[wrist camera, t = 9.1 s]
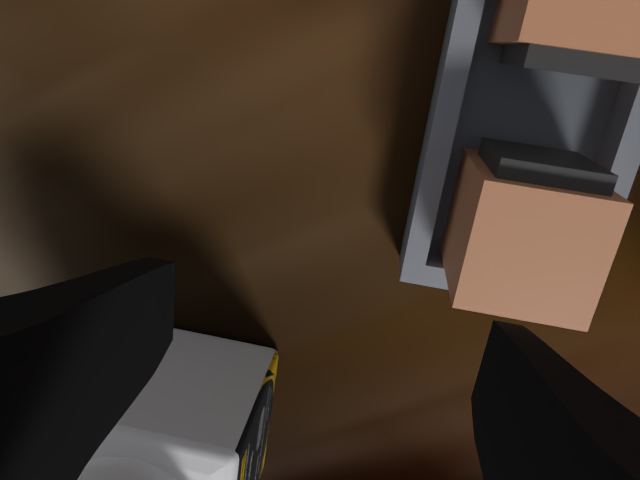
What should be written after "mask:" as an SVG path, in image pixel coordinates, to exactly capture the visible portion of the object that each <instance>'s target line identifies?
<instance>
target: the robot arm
mask: <svg viewBox="0 0 640 480" xmlns="http://www.w3.org/2000/svg"><path fill="white" fill-rule="evenodd" d="M175 273H176V262H172V261H167V260H161V259H156V258H144V259H139V260H135V261H131V262H128V263H124V264H121V265H117V266H114V267H111V268H108V269H104V270H101V271H98V272H95V273H91V274H88V275H85V276H82V277H78V278H75V279H71V280H68V281H64V282H60V283H57V284H53V285H49V286H46V287H42V288H38V289H34V290H31V291H26V292H22V293H18V294H13V295H8V296H3V297H0V480H78V478H79V476H80V475H81V473H82V471H83V470H84V468H85V466H86V465H87V463H88V462H89V461H90V459H91V458H92V456H93V455H94V453H95V452H96V450H97V449H98V448H99V446H100V445H101V444H102V442H103V441H104V440H105V438H106V437H107V436H108V434H109V433H110V432H111V431H112V429H113V428H114V427H115V425H116V424H117V423H118V421H119V420H120V419H121V417H122V416H123V415H124V413H125V412H126V411H127V410H128V408H129V407H130V406H131V404H132V403H133V402H134V400H135V399H136V398H137V396H138V395H139V394H140V392H141V391H142V390H143V388H144V387H145V386H146V384H147V383H148V382H149V380H150V379H151V377H152V376H153V375H154V373H155V372H156V370H157V368H158V366H159V365H160V363H161V361H162V359H163V357H164V355H165V354H166V352H167V350H168V348H169V346H170V344H171V342H172V340H173V326H174V299H175ZM471 402H472V417H473V428H474V438H475V443H476V448H477V452H478V457H479V461H480V466H481V470H482V475H483V479H484V480H640V417H638V416H637V415H636V414H634V413H633V412H631V411H630V410H628V409H627V408H626V407H624V406H623V405H622V404H620V403H619V402H618V401H616V400H615V399H614V398H612V397H611V396H610V395H608V394H607V393H605V392H604V391H603V390H601V389H600V388H599V387H598V386H596V385H595V384H594V383H593V382H591V381H590V380H589V379H588V378H586V377H585V376H584V375H583V374H581V373H580V372H579V371H578V370H577V369H575V368H574V367H573V366H572V365H571V364H569V363H568V362H567V361H566V360H565V359H563V358H562V357H561V356H560V355H559V354H558V353H556V352H555V351H554V350H553V349H552V348H551V347H549V346H548V345H547V344H546V343H545V342H543V341H542V340H541V339H540V338H539V337H537V336H536V335H535V334H534V333H532V332H531V331H530V330H528V329H527V328H525V327H524V326H522V325H516V324H511V323H505V322H500V321H495V320H493V324H492V327H491V331H490V334H489V338H488V341H487V345H486V348H485V351H484V355H483V358H482V362H481V365H480V369H479V372H478V376H477V379H476V383H475V386H474V390H473V393H472V397H471Z"/></svg>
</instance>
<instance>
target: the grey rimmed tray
mask: <svg viewBox="0 0 640 480" xmlns="http://www.w3.org/2000/svg"><path fill="white" fill-rule="evenodd" d="M496 2H497V0H452V2H451V7H450V12H449V16H448V21H447V26H446V31H445V36H444V41H443V46H442V51H441V56H440V61H439V65H438V70H437V75H436V80H435V85H434V90H433V95H432V100H431V105H430V110H429V114H428V119H427V124H426V129H425V134H424V139H423V144H422V149H421V154H420V159H419V164H418V168H417V173H416V178H415V183H414V188H413V193H412V198H411V203H410V208H409V213H408V217H407V222H406V227H405V232H404V237H403V242H402V247H401V252H400V281H402V282H408V283H413V284H419V285H424V286H430V287H436V288H441V289H447V290H449V294H450V299H451V304H452V308H458V309H463V310H469V311H474V312H480V313H485V314H491V315H496V316H502V317H507V318H513V319H518V320H524V321H529V322H535V323H540V324H546V325H551V326H557V327H562V328H568V329H573V330H579V331H584V332H587V331H588V329H589V326H590V323H591V320H592V318H593V315H594V312H595V309H596V307H597V304H598V301H599V298H600V296H601V293H602V290H603V287H604V285H605V282H606V279H607V276H608V274H609V271H610V268H611V265H612V263H613V260H614V257H615V255H616V252H617V249H618V246H619V244H620V241H621V238H622V235H623V233H624V230H625V227H626V224H627V222H628V219H629V216H630V213H631V211H632V208H633V205H634V204H633V203H631V202H630V201H628V200H627V198H628V195H629V192H630V190H631V187H632V184H633V181H634V179H635V176H636V173H637V170H638V167H639V165H640V84H637V83H630V82H623V81H616V80H609V79H602V78H595V77H588V76H581V75H574V74H567V73H560V72H553V71H546V70H539V69H532V68H525V67H519V66H513V65H506V64H500V63H499V62H500V58H501V54H502V50H503V46H504V45H502V44H495V43H487V40H488V36H489V32H490V27H491V23H492V19H493V15H494V10H495V6H496Z"/></svg>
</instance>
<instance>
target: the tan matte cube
mask: <svg viewBox="0 0 640 480" xmlns="http://www.w3.org/2000/svg"><path fill="white" fill-rule="evenodd" d="M487 43H495V44H502V45H504V46H503V50H502V54H501V58H500V62H499V63H500V64H506V65H513V66H519V67H525V68H532V69H539V70H546V71H553V72H560V73H567V74H574V75H581V76H588V77H595V78H602V79H609V80H616V81H623V82H630V83H637V84H640V0H497V2H496V6H495V10H494V15H493V19H492V23H491V27H490V32H489V36H488V40H487Z"/></svg>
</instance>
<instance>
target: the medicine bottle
mask: <svg viewBox="0 0 640 480" xmlns="http://www.w3.org/2000/svg"><path fill="white" fill-rule="evenodd" d="M277 364H278V352H277V351H276V350H275V349H273V348H269V347H264V346H259V345H255V344H250V343H245V342H240V341H235V340H230V339H225V338H220V337H215V336H210V335H206V334H201V333H196V332H191V331H186V330H181V329H176V328H173V340H172V342H171V344H170V346H169V348H168V350H167V352H166V354H165V355H164V357H163V359H162V361H161V363H160V365H159V366H158V368H157V370H156V372H155V373H154V375H153V376H152V377H151V379H150V380H149V382H148V383H147V384H146V386H145V387H144V388H143V390H142V391H141V392H140V394H139V395H138V396H137V398H136V399H135V400H134V402H133V403H132V404H131V406H130V407H129V408H128V410H127V411H126V412H125V413H124V415H123V416H122V417H121V419H120V420H119V421H118V423H117V424H116V425H115V427H114V428H113V429H112V431H111V432H110V433H109V434H108V436H107V437H106V438H105V440H104V441H103V442H102V444H101V445H100V446H99V448H98V449H97V450H96V452H95V453H94V455H93V456H92V458H91V459H90V461H89V462H88V463H87V465H86V466H85V468H84V470H83V471H82V473H81V475H80V476H79V478H78V480H259V478H260V475H261V472H262V469H263V466H264V460H265V453H266V445H267V438H268V431H269V423H270V416H271V409H272V401H273V394H274V387H275V379H276V372H277Z"/></svg>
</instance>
